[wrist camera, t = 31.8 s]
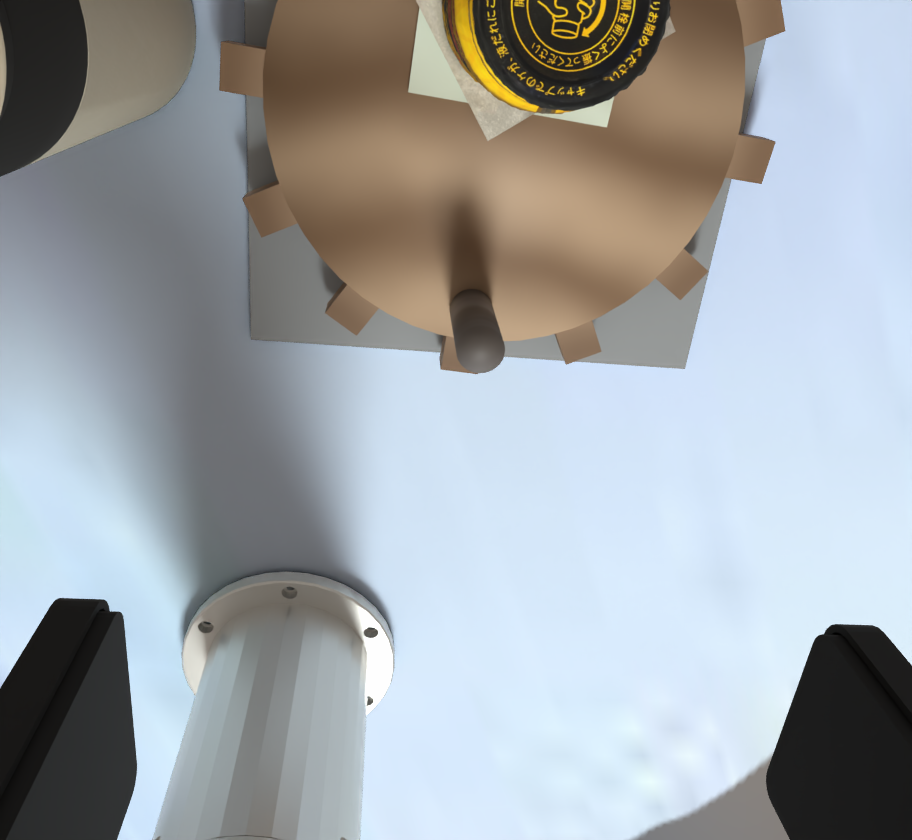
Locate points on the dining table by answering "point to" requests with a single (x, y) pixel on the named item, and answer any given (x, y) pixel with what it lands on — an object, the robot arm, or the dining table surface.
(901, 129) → the dining table surface
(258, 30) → the turntable base
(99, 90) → the travel mug
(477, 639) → the dining table surface
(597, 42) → the condiment
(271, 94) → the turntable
